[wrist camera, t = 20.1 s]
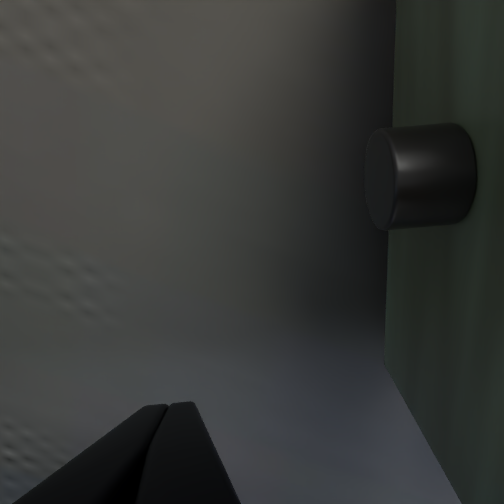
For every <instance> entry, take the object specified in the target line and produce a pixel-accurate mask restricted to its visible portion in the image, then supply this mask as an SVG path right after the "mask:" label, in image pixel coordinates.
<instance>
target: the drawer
mask: <svg viewBox="0 0 504 504" xmlns="http://www.w3.org/2000/svg"><path fill="white" fill-rule="evenodd" d="M364 186H365V195H366V201H367V206H368V210H369V213H370V215H371V218H372V220H373V222H374V224H375V225H376V226H377V228H379V229H381V230H389V237H388V267H387V296H386V325H385V355H384V365H385V367H386V369H387V370H388V372H389V374H390V376H391V378H392V379H393V381H394V383H395V385H396V386H397V388H398V390H399V392H400V394H401V395H402V397H403V399H404V401H405V403H406V404H407V406H408V408H409V410H410V412H411V413H412V415H413V417H414V419H415V421H416V422H417V424H418V426H419V428H420V429H421V431H422V433H423V435H424V437H425V438H426V440H427V442H428V444H429V446H430V447H431V449H432V451H433V453H434V455H435V456H436V458H437V460H438V462H439V463H440V465H441V467H442V469H443V471H444V472H445V474H446V476H447V478H448V480H449V481H450V483H451V485H452V487H453V489H454V490H455V492H456V494H457V496H458V498H459V499H460V501H461V503H462V504H504V0H397V3H396V32H395V61H394V91H393V120H392V128H380V129H378V130H376V131H375V132H374V133H373V134H372V135H371V137H370V140H369V142H368V146H367V150H366V155H365V164H364Z"/></svg>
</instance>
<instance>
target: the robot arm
mask: <svg viewBox="0 0 504 504" xmlns="http://www.w3.org/2000/svg"><path fill="white" fill-rule="evenodd" d="M13 504H241V503H240V501H239V498H238V496H237V494H236V492H235V490H234V487H233V485H232V483H231V481H230V479H229V477H228V474H227V472H226V470H225V468H224V466H223V464H222V461H221V459H220V457H219V455H218V453H217V450H216V448H215V446H214V444H213V442H212V440H211V437H210V435H209V433H208V431H207V429H206V427H205V424H204V422H203V420H202V418H201V416H200V413H199V411H198V409H197V407H196V405H195V403H194V402H191V401H190V402H179V403H172V404H171V405H170V406H168V405H167V404H158V405H147V406H144V407H142V408H141V409H140V410H138V411H137V412H136V413H134V414H133V415H132V416H130V417H129V418H127V419H126V420H125V421H123V422H122V423H121V424H119V425H118V426H117V427H115V428H114V429H113V430H111V431H110V432H109V433H107V434H106V435H105V436H103V437H102V438H101V439H99V440H98V441H96V442H95V443H94V444H92V445H91V446H90V447H88V448H87V449H86V450H84V451H83V452H82V453H80V454H79V455H78V456H76V457H75V458H74V459H72V460H71V461H69V462H68V463H67V464H65V465H64V466H63V467H61V468H60V469H59V470H57V471H56V472H55V473H53V474H52V475H51V476H49V477H48V478H47V479H45V480H44V481H42V482H41V483H40V484H38V485H37V486H36V487H34V488H33V489H32V490H30V491H29V492H28V493H26V494H25V495H24V496H22V497H21V498H20V499H18V500H17V501H15V502H14V503H13Z"/></svg>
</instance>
